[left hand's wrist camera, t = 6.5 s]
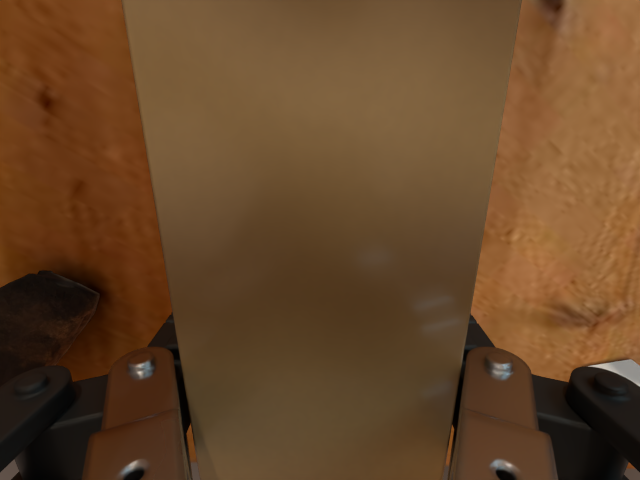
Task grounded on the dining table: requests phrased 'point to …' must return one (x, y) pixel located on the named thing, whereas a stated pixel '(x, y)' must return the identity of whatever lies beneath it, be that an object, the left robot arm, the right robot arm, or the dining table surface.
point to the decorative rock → (40, 321)
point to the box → (321, 220)
